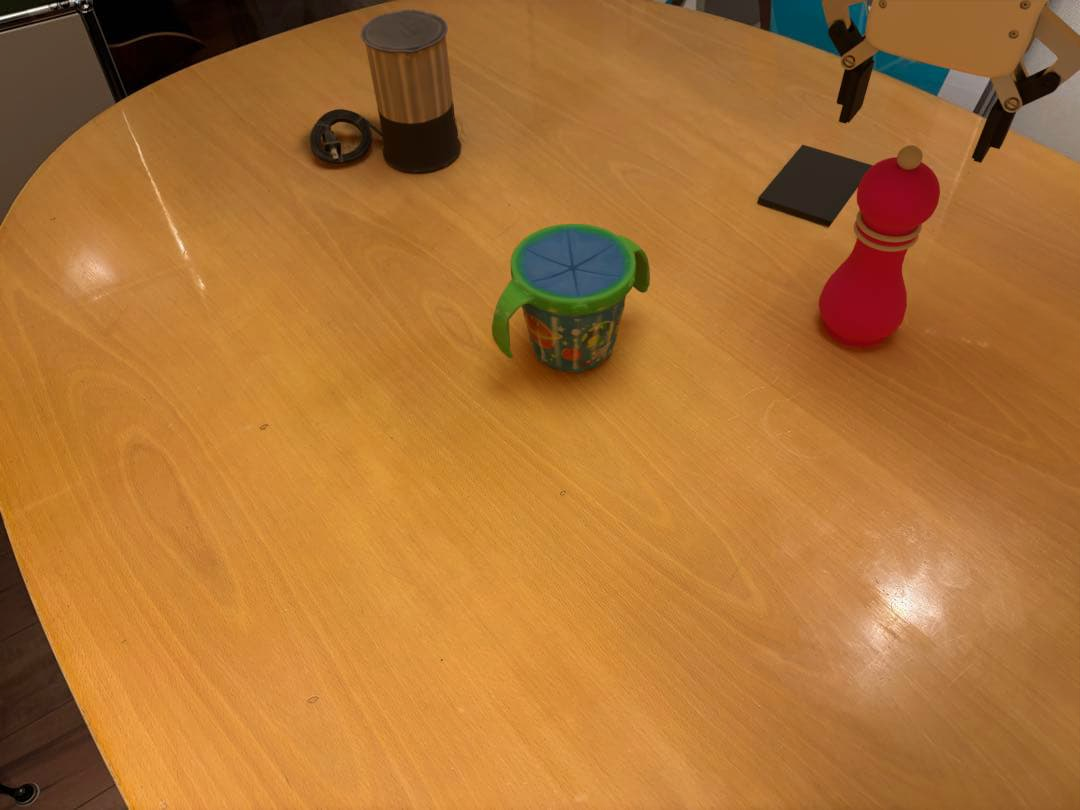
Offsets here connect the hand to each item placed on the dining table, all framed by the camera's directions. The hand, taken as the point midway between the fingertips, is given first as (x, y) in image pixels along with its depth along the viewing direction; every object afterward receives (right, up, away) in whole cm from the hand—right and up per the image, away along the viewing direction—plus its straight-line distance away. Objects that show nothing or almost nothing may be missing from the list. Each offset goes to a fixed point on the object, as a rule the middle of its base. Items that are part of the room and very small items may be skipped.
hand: (913, 133), depth 63 cm
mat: (+8, +2, +30) cm, 31 cm away
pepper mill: (+1, -14, +16) cm, 21 cm away
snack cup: (-24, -15, +17) cm, 33 cm away
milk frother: (-45, +10, +39) cm, 61 cm away
